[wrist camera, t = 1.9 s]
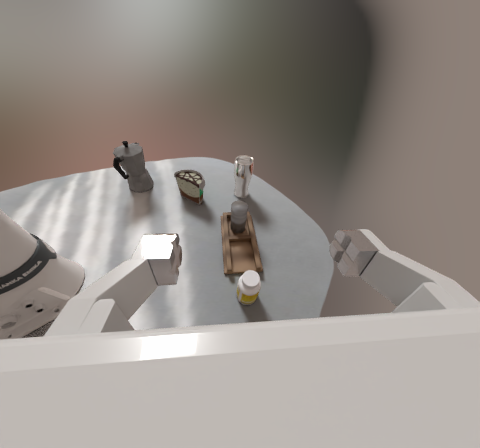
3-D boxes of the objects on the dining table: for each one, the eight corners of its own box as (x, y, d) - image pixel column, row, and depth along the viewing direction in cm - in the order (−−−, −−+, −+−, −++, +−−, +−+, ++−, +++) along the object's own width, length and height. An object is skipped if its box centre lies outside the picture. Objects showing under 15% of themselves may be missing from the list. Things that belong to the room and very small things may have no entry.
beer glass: (250, 198, 74) (255, 165, 63) (233, 199, 73) (235, 165, 62) (248, 188, 79) (252, 155, 68) (231, 188, 78) (233, 155, 67)
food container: (212, 198, 73) (211, 176, 65) (202, 207, 69) (200, 185, 62) (189, 186, 76) (185, 165, 69) (178, 194, 73) (173, 172, 65)
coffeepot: (138, 175, 79) (122, 131, 66) (160, 178, 79) (147, 135, 66) (118, 197, 69) (93, 151, 56) (142, 201, 69) (123, 156, 55)
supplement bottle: (261, 296, 48) (268, 280, 41) (245, 310, 46) (249, 295, 38) (248, 281, 51) (252, 263, 44) (232, 292, 48) (234, 275, 41)
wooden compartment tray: (262, 271, 53) (269, 250, 45) (224, 274, 52) (224, 253, 44) (250, 216, 68) (254, 193, 59) (220, 217, 66) (220, 194, 58)
